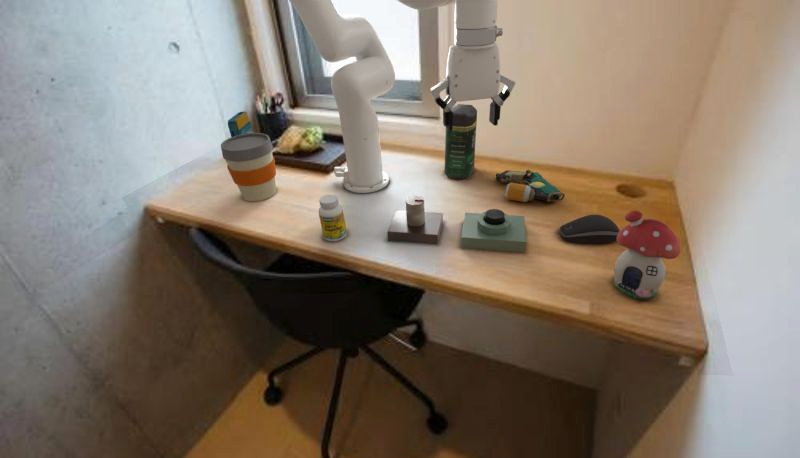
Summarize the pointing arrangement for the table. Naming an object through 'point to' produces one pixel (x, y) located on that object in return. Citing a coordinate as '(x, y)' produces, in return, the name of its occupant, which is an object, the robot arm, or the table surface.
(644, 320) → the table surface
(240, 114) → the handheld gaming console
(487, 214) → the button
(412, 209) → the dial
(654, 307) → the table surface
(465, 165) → the coffee jar
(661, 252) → the decorative ornament
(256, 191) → the reusable coffee cup
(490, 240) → the green push button panel
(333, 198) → the supplement bottle
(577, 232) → the computer mouse
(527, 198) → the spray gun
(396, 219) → the dial panel
